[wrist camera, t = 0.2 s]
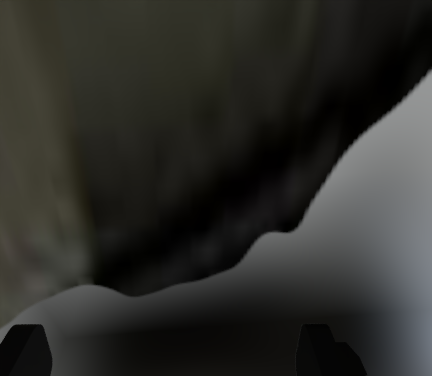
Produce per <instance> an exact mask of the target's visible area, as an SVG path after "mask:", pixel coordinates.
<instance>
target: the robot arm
mask: <svg viewBox="0 0 432 376" xmlns="http://www.w3.org/2000/svg"><path fill="white" fill-rule="evenodd" d="M295 365H296V373H297V376H367V373H366V371H365V369H364V366H363V364H362V362H361V360H360V358H359V356H358V355H357V354H356V353H355V352H354V351H353V350H352V348H350V346H349V345H348V344H347V343H346V342H335V340H334V338H333V335H332V333H331V330H330V328H329V326H328V325H327V324H302V326H301V330H300V335H299V340H298V346H297V351H296V358H295ZM51 370H52V355H51V351H50V348H49V344H48V341H47V337H46V334H45V331H44V327H43V326H42V325H41V324H40V325H39V324H37V325H36V324H28V325H27V324H24V325H23V324H21V325H14V326H12V327H11V329H10V330H9V331H8V333H7V334H6V336H5V338H4V339H3V341H2V342H1V344H0V376H50V374H51Z"/></svg>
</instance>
